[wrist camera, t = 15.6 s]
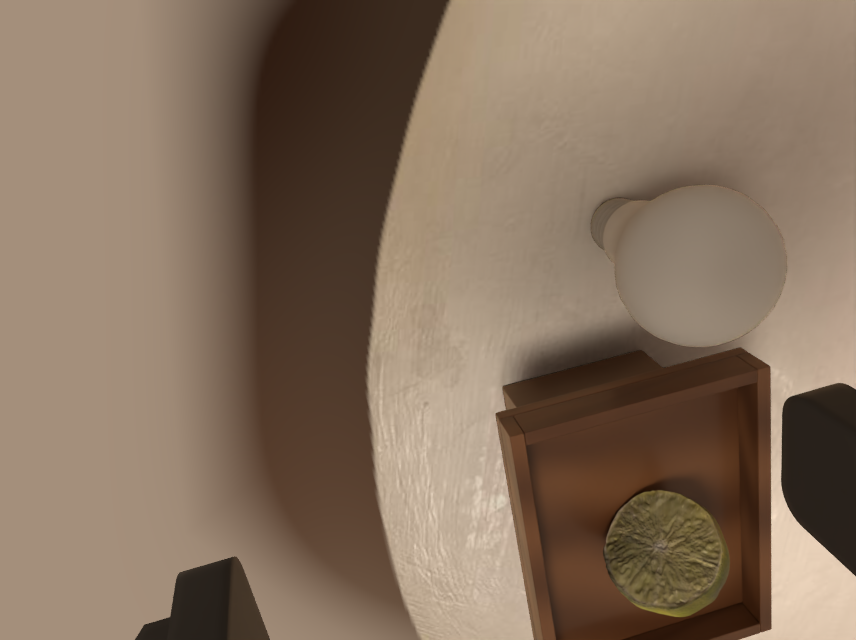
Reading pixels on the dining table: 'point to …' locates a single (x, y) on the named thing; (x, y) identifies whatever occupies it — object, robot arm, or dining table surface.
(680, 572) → the lime
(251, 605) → the robot arm
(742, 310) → the lightbulb
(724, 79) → the dining table surface
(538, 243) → the dining table surface
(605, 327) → the dining table surface
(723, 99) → the dining table surface
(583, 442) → the tray
